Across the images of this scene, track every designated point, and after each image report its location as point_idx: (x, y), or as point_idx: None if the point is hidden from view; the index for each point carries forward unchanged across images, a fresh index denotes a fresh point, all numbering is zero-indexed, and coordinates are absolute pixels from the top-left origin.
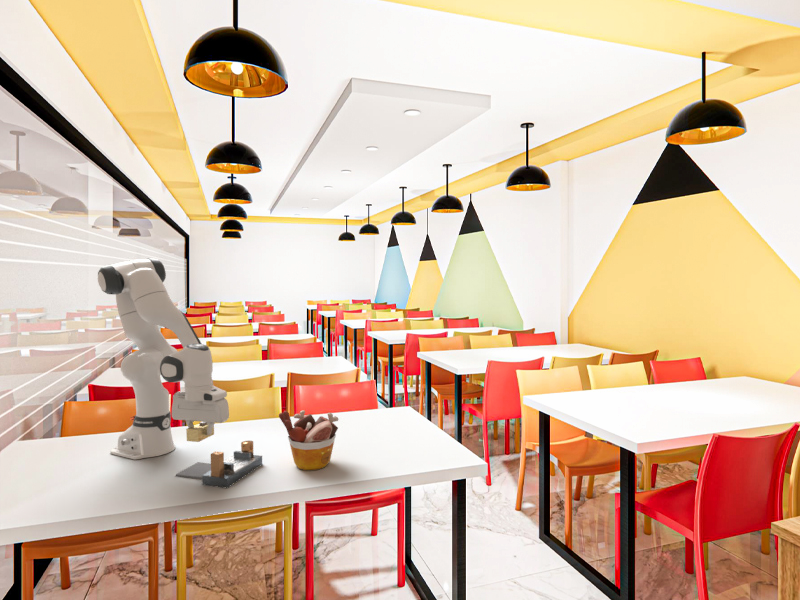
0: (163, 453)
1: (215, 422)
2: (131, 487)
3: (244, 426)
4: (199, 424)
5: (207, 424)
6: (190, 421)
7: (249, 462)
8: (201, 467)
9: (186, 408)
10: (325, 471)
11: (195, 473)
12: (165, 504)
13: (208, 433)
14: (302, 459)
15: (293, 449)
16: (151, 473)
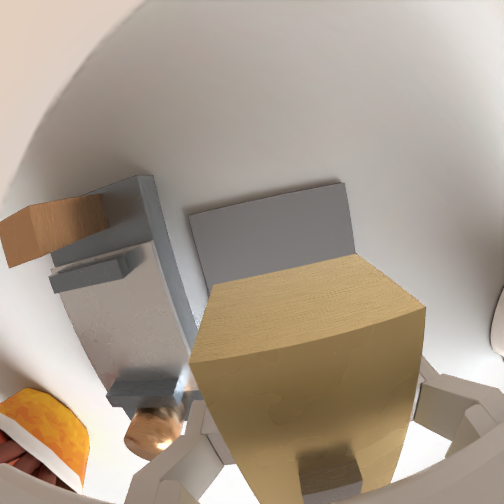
0: (500, 302)
1: (40, 480)
2: (386, 44)
3: None
4: (354, 467)
5: (173, 486)
6: (467, 437)
7: (90, 360)
8: None
9: None
10: (16, 390)
11: (268, 231)
12: (144, 16)
13: (190, 409)
14: (18, 399)
15: (24, 421)
16: (440, 165)
